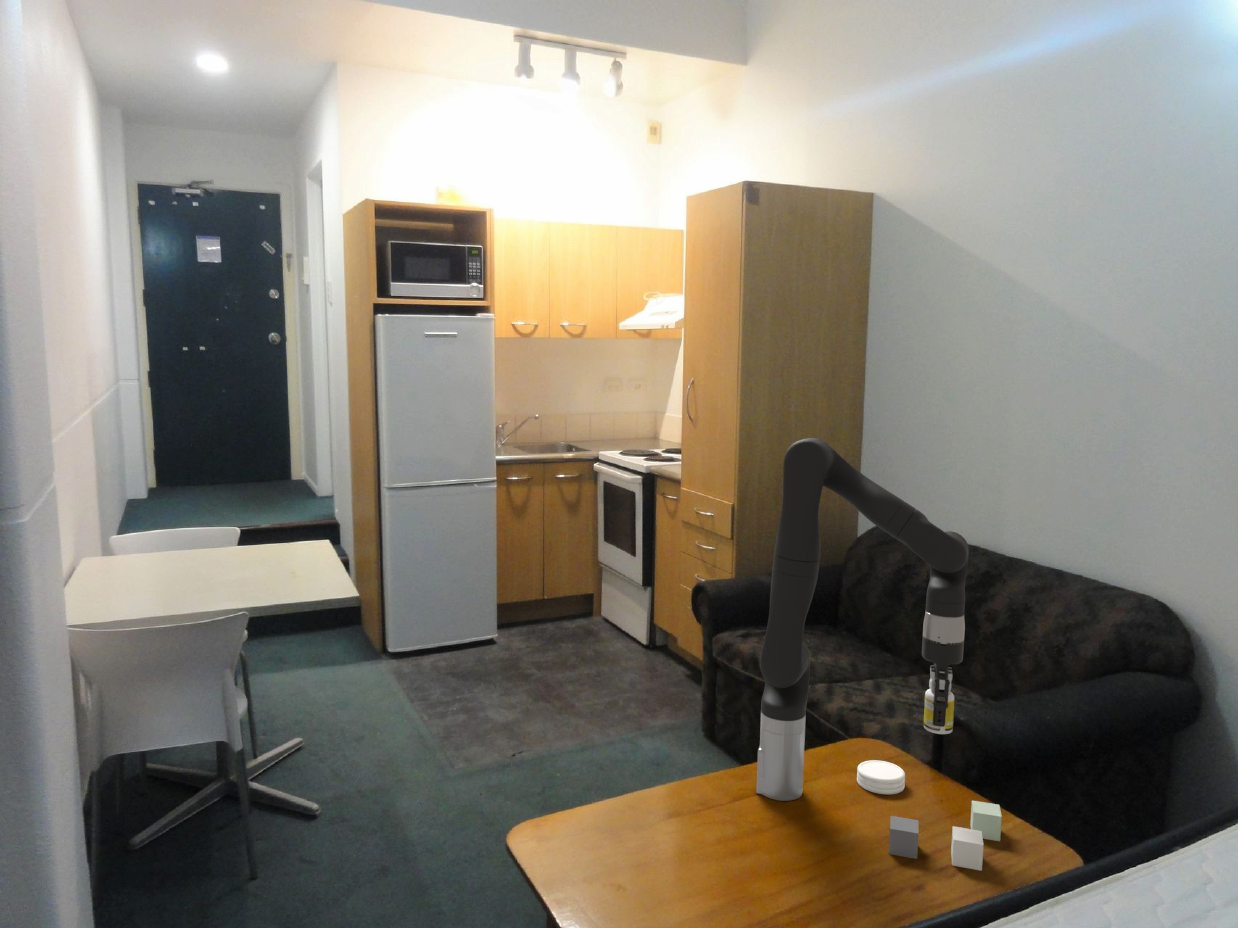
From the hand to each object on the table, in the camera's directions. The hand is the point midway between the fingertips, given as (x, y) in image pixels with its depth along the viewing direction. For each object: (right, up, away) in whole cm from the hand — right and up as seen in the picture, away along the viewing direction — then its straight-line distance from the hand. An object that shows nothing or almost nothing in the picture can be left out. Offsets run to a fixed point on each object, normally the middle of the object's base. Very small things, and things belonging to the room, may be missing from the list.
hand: (938, 719), depth 171 cm
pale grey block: (+1, -23, -11) cm, 25 cm away
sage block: (+9, -22, -1) cm, 24 cm away
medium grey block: (-9, -22, -7) cm, 25 cm away
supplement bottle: (0, -2, 0) cm, 2 cm away
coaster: (-6, -20, +19) cm, 28 cm away
